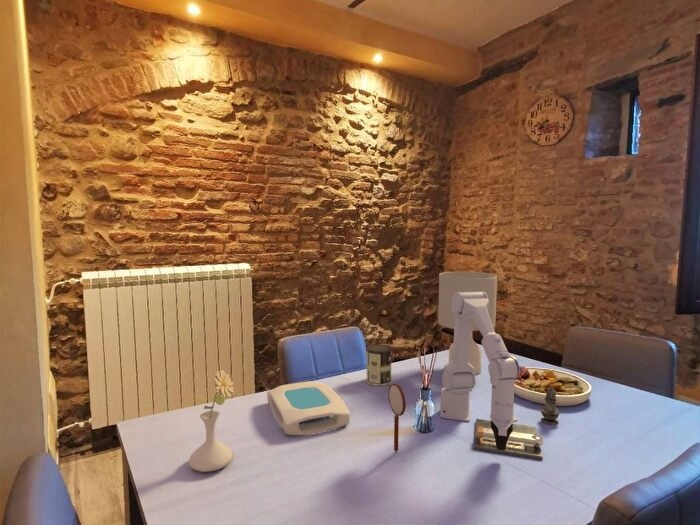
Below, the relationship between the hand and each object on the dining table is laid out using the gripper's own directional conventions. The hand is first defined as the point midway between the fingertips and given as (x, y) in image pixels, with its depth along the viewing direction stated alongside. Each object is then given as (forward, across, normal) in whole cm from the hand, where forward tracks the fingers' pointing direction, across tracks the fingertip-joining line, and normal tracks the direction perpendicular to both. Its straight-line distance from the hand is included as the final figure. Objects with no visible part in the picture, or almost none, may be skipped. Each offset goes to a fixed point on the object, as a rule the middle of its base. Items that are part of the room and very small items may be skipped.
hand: (500, 448), depth 118 cm
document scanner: (+3, +9, +62) cm, 63 cm away
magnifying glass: (+3, -6, +28) cm, 29 cm away
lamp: (+3, +71, +13) cm, 72 cm away
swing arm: (+1, +8, -3) cm, 8 cm away
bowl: (+3, +55, -18) cm, 58 cm away
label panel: (+3, +12, -2) cm, 13 cm away
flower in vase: (+3, -26, +74) cm, 78 cm away
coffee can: (+3, +46, +46) cm, 65 cm away
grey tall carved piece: (+3, +29, -16) cm, 33 cm away
